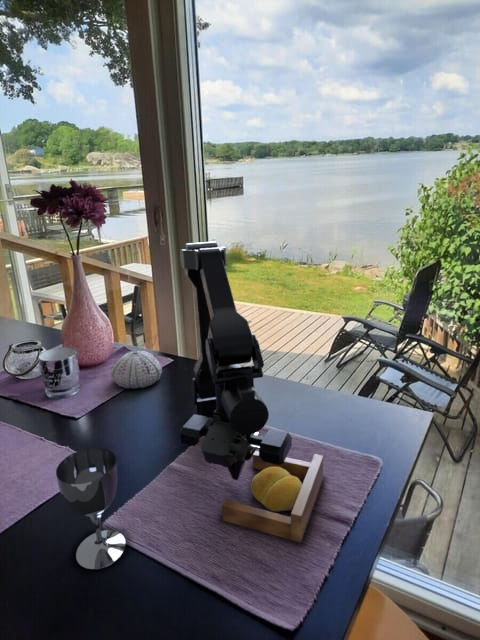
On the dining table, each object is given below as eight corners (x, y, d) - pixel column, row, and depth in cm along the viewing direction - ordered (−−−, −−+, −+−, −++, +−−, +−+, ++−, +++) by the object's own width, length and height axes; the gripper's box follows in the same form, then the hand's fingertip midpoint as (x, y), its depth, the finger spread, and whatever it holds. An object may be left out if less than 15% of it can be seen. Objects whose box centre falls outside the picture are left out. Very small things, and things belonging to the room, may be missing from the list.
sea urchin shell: (165, 368, 125) (163, 342, 122) (160, 391, 112) (157, 362, 110) (118, 370, 125) (115, 344, 122) (107, 394, 112) (103, 365, 109)
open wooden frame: (222, 520, 70) (221, 495, 69) (255, 463, 84) (255, 441, 82) (301, 543, 66) (301, 516, 64) (322, 479, 79) (323, 455, 77)
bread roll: (280, 522, 70) (280, 502, 68) (243, 492, 76) (243, 473, 75) (315, 497, 74) (315, 478, 73) (278, 471, 81) (277, 453, 80)
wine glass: (80, 530, 69) (65, 449, 64) (132, 526, 70) (120, 445, 65) (66, 574, 62) (47, 486, 57) (123, 569, 62) (110, 481, 57)
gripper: (158, 415, 69) (167, 496, 74) (272, 438, 62) (273, 525, 68) (191, 384, 79) (197, 457, 84) (293, 400, 72) (292, 479, 77)
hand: (236, 478), depth 78 cm, fingers closed
